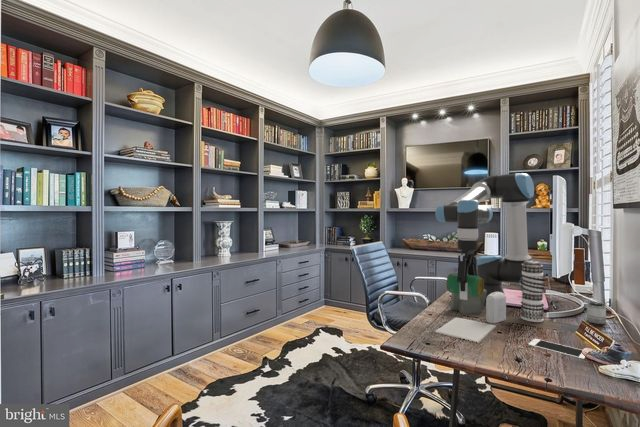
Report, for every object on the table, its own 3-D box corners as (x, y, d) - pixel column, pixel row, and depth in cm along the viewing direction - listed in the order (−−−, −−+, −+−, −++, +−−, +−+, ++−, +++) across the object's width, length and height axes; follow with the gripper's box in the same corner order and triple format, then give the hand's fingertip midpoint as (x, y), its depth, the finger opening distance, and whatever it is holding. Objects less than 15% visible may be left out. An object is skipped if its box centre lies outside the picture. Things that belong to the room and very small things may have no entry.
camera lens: (608, 322, 145) (609, 304, 144) (601, 325, 142) (601, 306, 141) (591, 318, 150) (591, 300, 150) (583, 320, 147) (583, 302, 147)
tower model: (545, 323, 144) (546, 263, 143) (520, 320, 148) (520, 262, 148) (544, 317, 152) (544, 260, 151) (519, 314, 156) (519, 259, 156)
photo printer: (497, 317, 152) (497, 289, 152) (507, 320, 149) (507, 291, 149) (484, 321, 147) (484, 292, 147) (494, 324, 143) (494, 295, 143)
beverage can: (454, 283, 145) (485, 287, 137) (448, 296, 140) (479, 302, 132) (451, 268, 141) (482, 272, 133) (444, 281, 136) (476, 286, 128)
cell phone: (534, 339, 128) (534, 338, 128) (589, 353, 116) (589, 351, 116) (527, 345, 122) (527, 344, 122) (583, 360, 111) (583, 358, 111)
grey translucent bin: (483, 309, 165) (483, 287, 165) (489, 315, 156) (489, 291, 156) (448, 307, 168) (448, 285, 168) (451, 313, 159) (451, 290, 159)
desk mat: (456, 318, 151) (456, 317, 151) (495, 326, 141) (495, 325, 141) (434, 332, 135) (434, 331, 135) (478, 343, 124) (478, 341, 124)
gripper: (467, 237, 146) (467, 290, 146) (447, 240, 130) (447, 300, 131) (486, 238, 141) (485, 293, 141) (468, 241, 125) (468, 304, 126)
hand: (467, 297), depth 136 cm, fingers closed on beverage can, 8 cm apart
